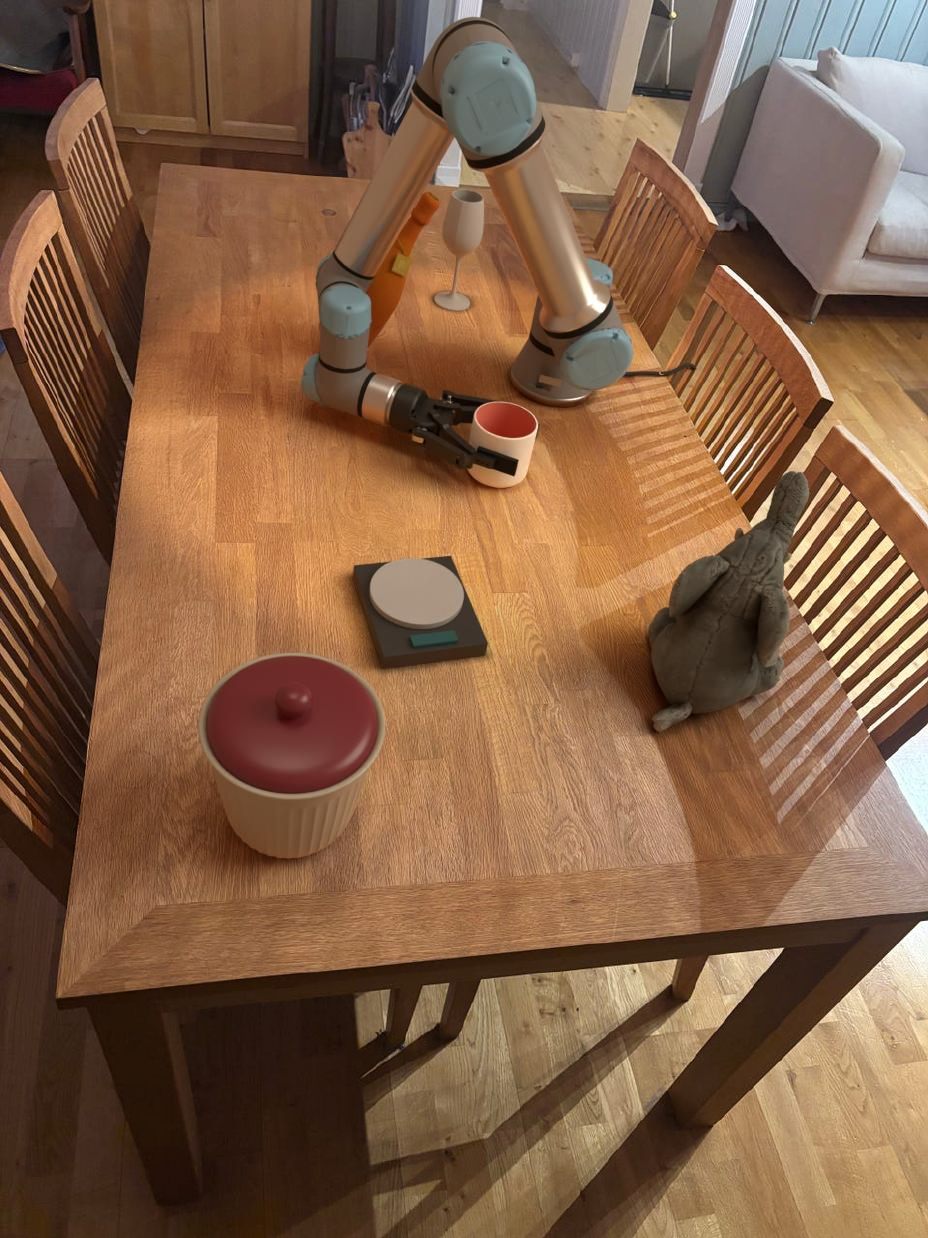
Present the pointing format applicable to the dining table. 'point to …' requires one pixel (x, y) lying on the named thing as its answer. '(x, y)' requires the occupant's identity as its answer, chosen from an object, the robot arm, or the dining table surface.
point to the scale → (418, 611)
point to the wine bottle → (397, 266)
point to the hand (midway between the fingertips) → (527, 450)
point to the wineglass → (461, 239)
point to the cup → (503, 440)
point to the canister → (291, 749)
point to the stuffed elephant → (728, 616)
